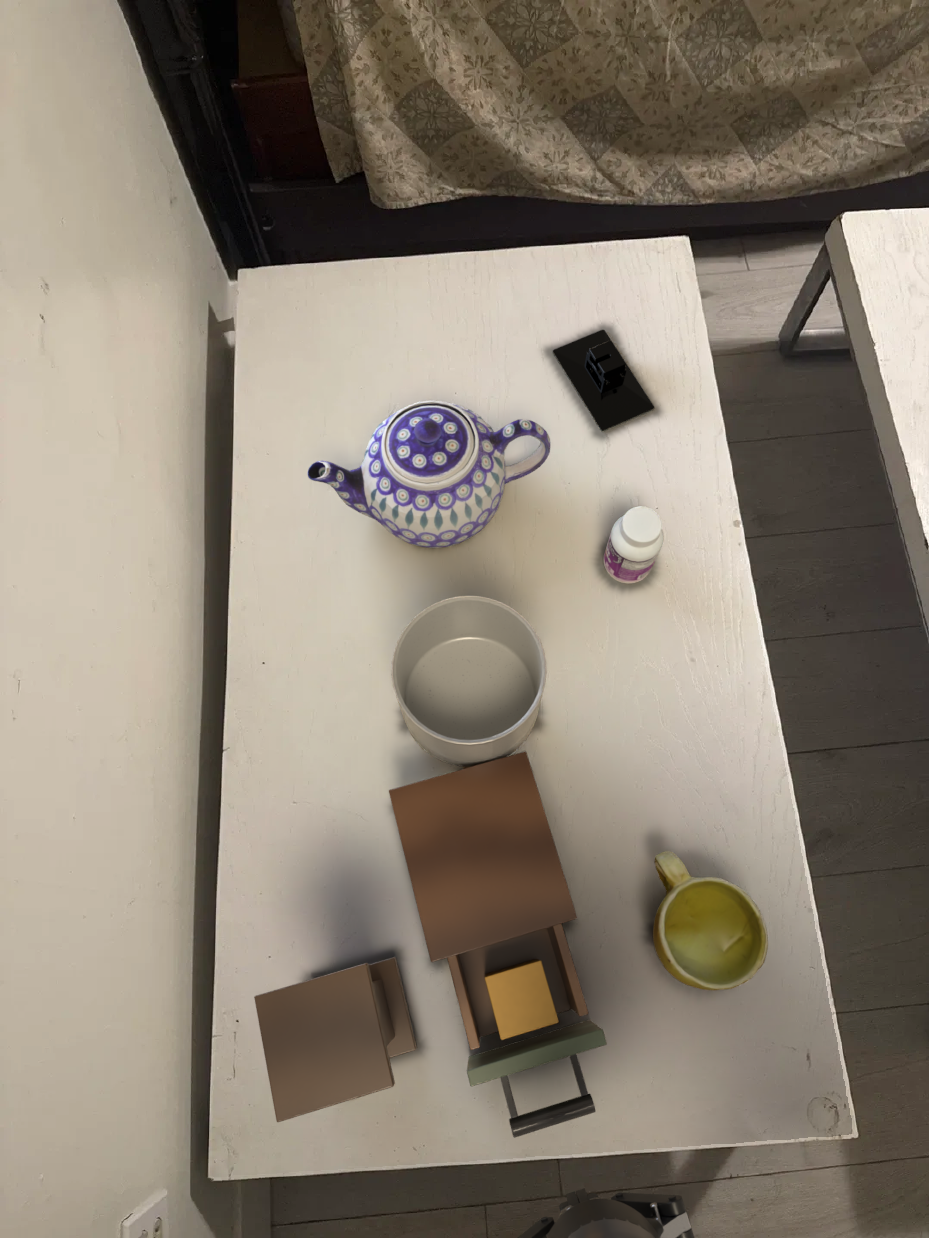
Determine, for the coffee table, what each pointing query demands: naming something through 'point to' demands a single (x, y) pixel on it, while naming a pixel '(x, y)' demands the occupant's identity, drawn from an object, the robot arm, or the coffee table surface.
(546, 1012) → the block
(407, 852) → the cabinet
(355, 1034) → the stand
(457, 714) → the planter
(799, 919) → the coffee table surface
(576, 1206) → the robot arm
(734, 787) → the coffee table surface
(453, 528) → the teapot
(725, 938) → the mug
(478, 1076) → the drawer
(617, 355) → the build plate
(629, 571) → the pill bottle
